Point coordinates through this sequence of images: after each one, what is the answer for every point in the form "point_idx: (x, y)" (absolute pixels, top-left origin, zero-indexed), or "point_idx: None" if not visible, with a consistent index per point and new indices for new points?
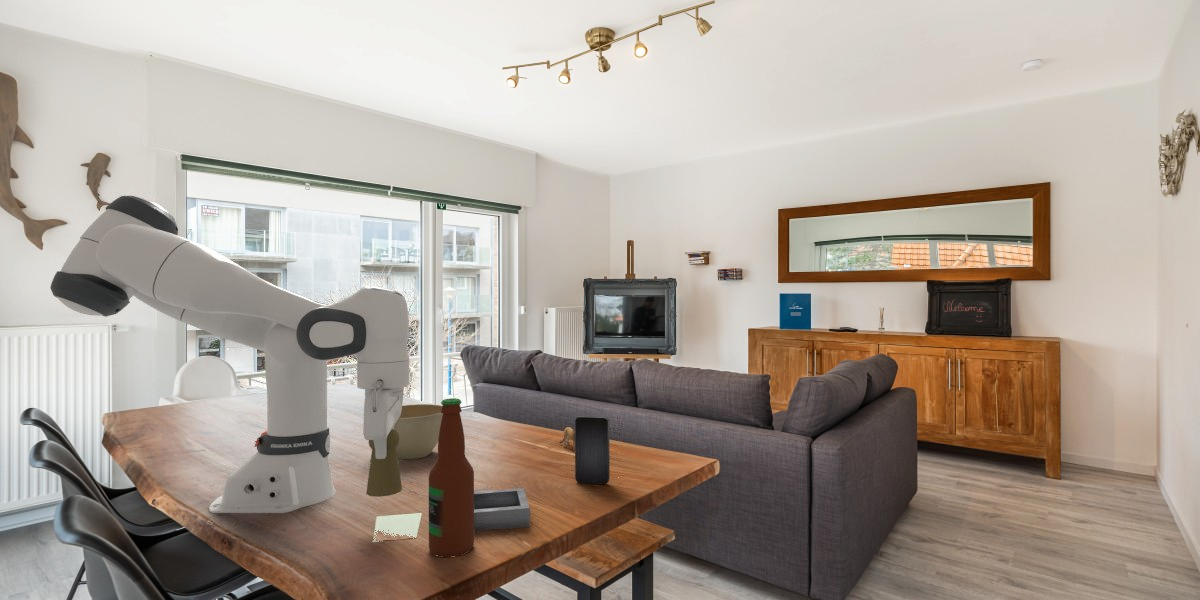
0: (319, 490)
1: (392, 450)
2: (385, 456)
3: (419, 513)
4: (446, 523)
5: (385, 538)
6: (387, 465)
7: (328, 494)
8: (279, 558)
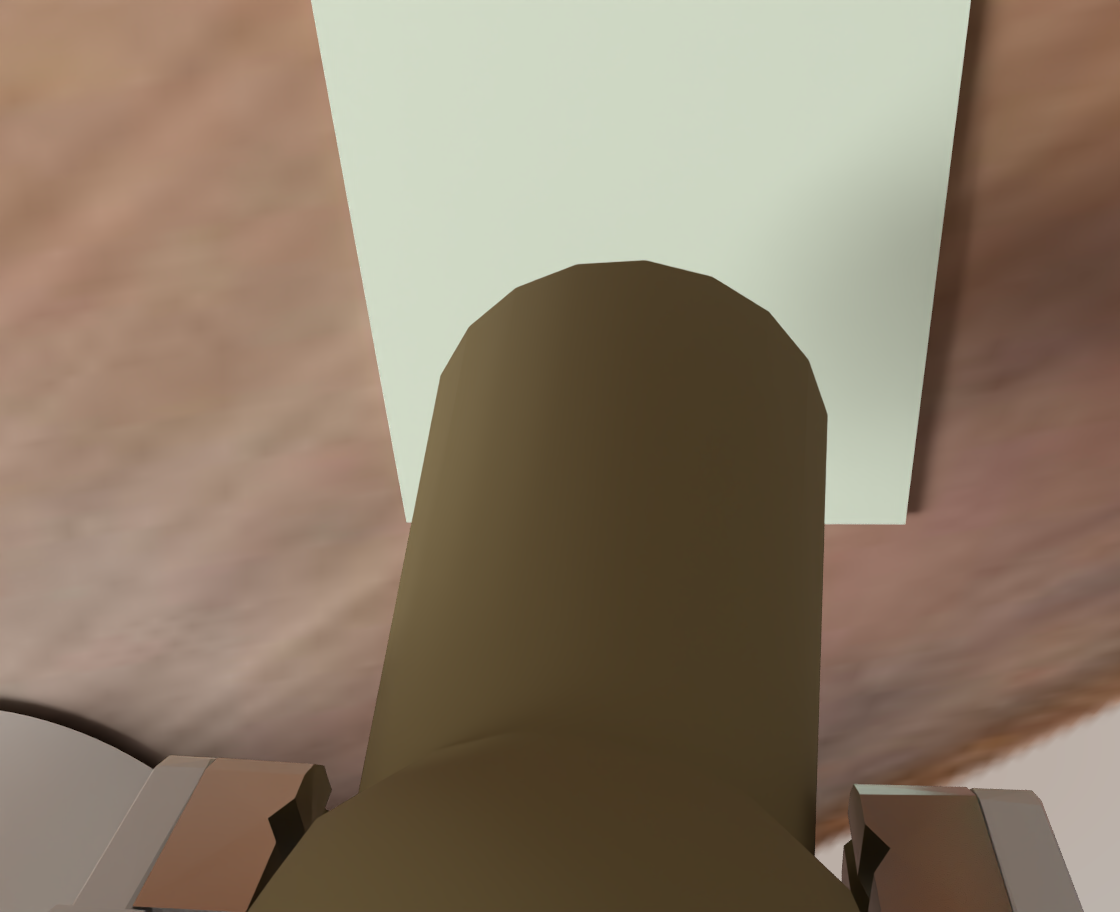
0: (65, 820)
1: (724, 759)
2: (1042, 811)
3: (328, 21)
4: None
5: (882, 242)
6: (802, 631)
7: (29, 748)
8: (941, 777)
